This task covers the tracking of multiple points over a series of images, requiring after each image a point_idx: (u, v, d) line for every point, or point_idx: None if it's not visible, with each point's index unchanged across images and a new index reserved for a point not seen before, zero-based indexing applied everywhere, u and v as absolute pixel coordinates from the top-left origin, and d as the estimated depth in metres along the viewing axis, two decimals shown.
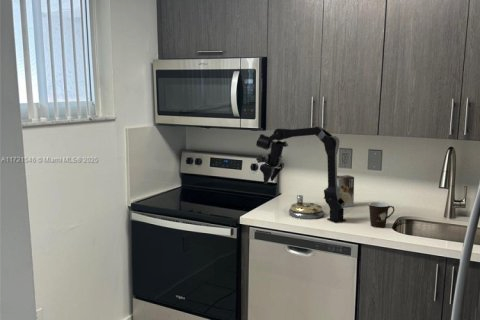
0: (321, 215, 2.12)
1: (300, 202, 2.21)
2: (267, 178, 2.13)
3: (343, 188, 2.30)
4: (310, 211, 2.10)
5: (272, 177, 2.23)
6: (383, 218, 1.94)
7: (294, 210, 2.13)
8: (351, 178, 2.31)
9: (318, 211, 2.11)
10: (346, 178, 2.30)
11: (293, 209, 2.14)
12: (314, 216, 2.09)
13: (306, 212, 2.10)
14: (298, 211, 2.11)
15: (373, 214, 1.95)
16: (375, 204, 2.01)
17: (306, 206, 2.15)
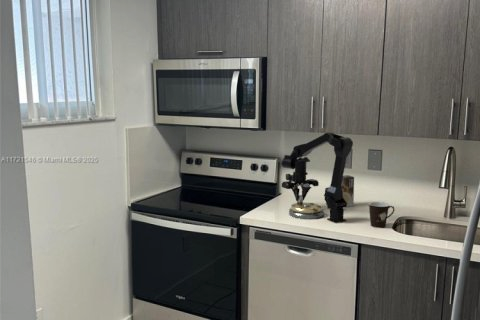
0: (321, 215, 2.12)
1: (300, 202, 2.21)
2: (296, 194, 2.19)
3: (343, 188, 2.30)
4: (310, 211, 2.10)
5: None
6: (383, 218, 1.94)
7: (294, 210, 2.13)
8: (351, 178, 2.31)
9: (318, 211, 2.11)
10: (346, 178, 2.30)
11: (293, 209, 2.14)
12: (314, 216, 2.09)
13: (306, 212, 2.10)
14: (298, 211, 2.11)
15: (373, 214, 1.95)
16: (375, 204, 2.01)
17: (306, 206, 2.15)
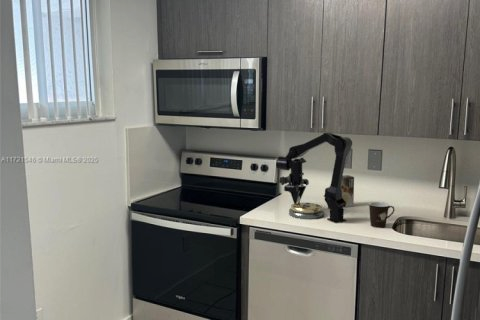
0: (321, 215, 2.12)
1: (298, 202, 2.20)
2: (295, 196, 2.15)
3: (343, 188, 2.30)
4: (315, 211, 2.10)
5: None
6: (383, 218, 1.94)
7: (298, 211, 2.11)
8: (351, 178, 2.31)
9: (320, 210, 2.13)
10: (346, 178, 2.30)
11: (296, 210, 2.12)
12: (314, 216, 2.09)
13: (311, 212, 2.10)
14: (303, 212, 2.10)
15: (373, 214, 1.95)
16: (375, 204, 2.01)
17: (307, 206, 2.15)
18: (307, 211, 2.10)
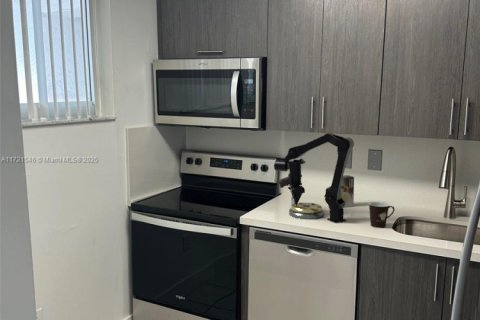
0: (321, 215, 2.12)
1: None
2: (298, 198, 2.13)
3: (343, 188, 2.30)
4: (320, 209, 2.13)
5: None
6: (383, 218, 1.94)
7: (307, 212, 2.10)
8: (351, 178, 2.31)
9: None
10: (346, 178, 2.30)
11: (305, 211, 2.10)
12: (314, 216, 2.09)
13: (319, 211, 2.12)
14: (312, 212, 2.10)
15: (373, 214, 1.95)
16: (375, 204, 2.01)
17: (309, 206, 2.15)
18: (316, 210, 2.10)
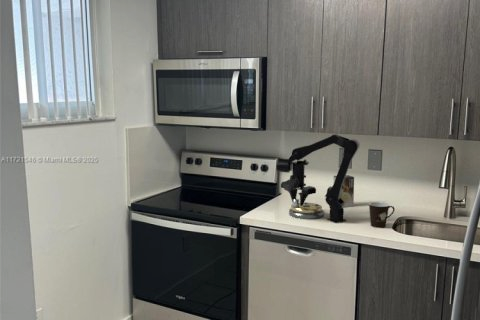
0: (321, 215, 2.12)
1: (298, 205, 2.14)
2: (304, 199, 2.11)
3: (343, 188, 2.30)
4: None
5: None
6: (383, 218, 1.94)
7: (316, 211, 2.11)
8: (351, 178, 2.31)
9: None
10: (346, 178, 2.30)
11: (314, 211, 2.10)
12: (314, 216, 2.09)
13: (321, 209, 2.16)
14: (319, 210, 2.12)
15: (373, 214, 1.95)
16: (375, 204, 2.01)
17: (310, 205, 2.16)
18: (321, 209, 2.14)
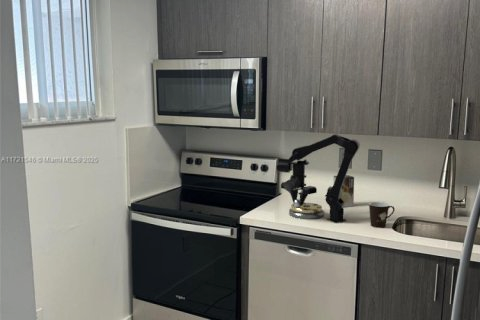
0: (321, 215, 2.12)
1: None
2: (304, 198, 2.11)
3: (343, 188, 2.30)
4: None
5: None
6: (383, 218, 1.94)
7: (318, 211, 2.11)
8: (351, 178, 2.31)
9: None
10: (346, 178, 2.30)
11: (317, 211, 2.11)
12: (314, 216, 2.09)
13: None
14: (320, 210, 2.13)
15: (373, 214, 1.95)
16: (375, 204, 2.01)
17: (310, 205, 2.17)
18: (321, 208, 2.15)
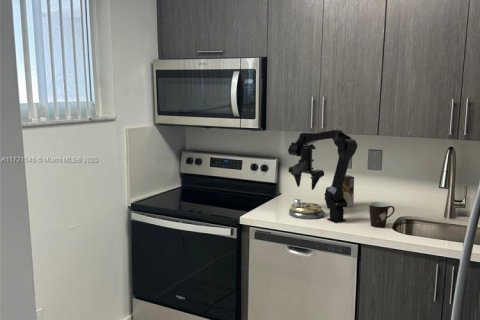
0: (321, 215, 2.12)
1: None
2: (316, 182, 2.17)
3: (343, 188, 2.30)
4: None
5: (298, 183, 2.24)
6: (383, 218, 1.94)
7: (318, 211, 2.11)
8: (351, 178, 2.31)
9: None
10: (346, 178, 2.30)
11: (317, 211, 2.11)
12: (314, 216, 2.09)
13: None
14: (320, 210, 2.13)
15: (373, 214, 1.95)
16: (375, 204, 2.01)
17: (310, 205, 2.17)
18: (321, 208, 2.15)
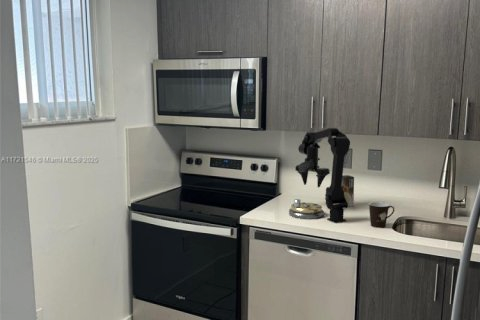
0: (321, 215, 2.12)
1: None
2: (321, 180, 2.23)
3: (343, 188, 2.30)
4: None
5: (305, 181, 2.31)
6: (383, 218, 1.94)
7: (318, 211, 2.11)
8: (351, 178, 2.31)
9: None
10: (346, 178, 2.30)
11: (317, 211, 2.11)
12: (314, 216, 2.09)
13: None
14: (320, 210, 2.13)
15: (373, 214, 1.95)
16: (375, 204, 2.01)
17: (310, 205, 2.17)
18: (321, 208, 2.15)
